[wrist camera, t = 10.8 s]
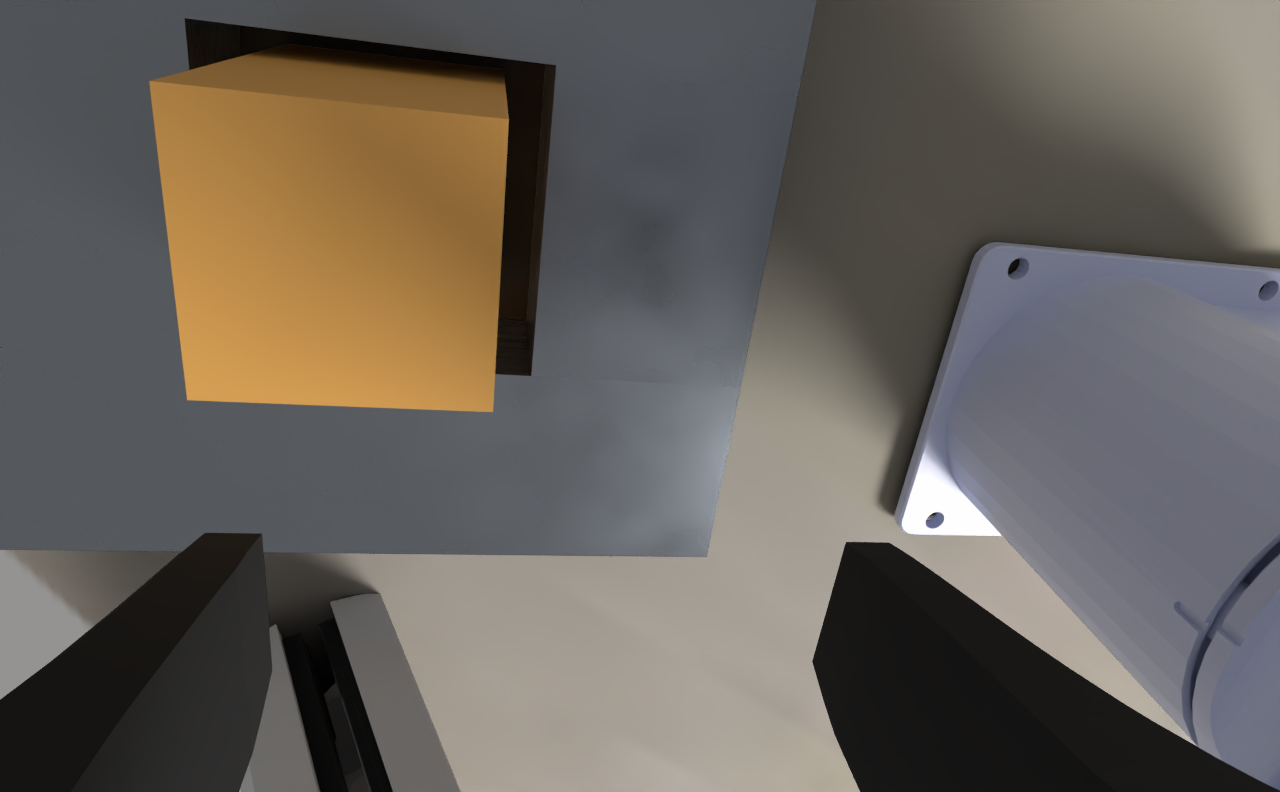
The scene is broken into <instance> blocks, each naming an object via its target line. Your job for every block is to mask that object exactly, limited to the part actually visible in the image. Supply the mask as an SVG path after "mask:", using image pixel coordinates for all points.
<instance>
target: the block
mask: <svg viewBox="0 0 1280 792" xmlns="http://www.w3.org/2000/svg"><path fill="white" fill-rule="evenodd" d="M149 84H150V92H151V101H152V109H153V118H154V126H155V134H156V143H157V151H158V160H159V168H160V176H161V185H162V193H163V201H164V210H165V218H166V227H167V235H168V243H169V252H170V260H171V268H172V277H173V285H174V294H175V302H176V310H177V319H178V327H179V336H180V344H181V352H182V361H183V369H184V377H185V386H186V394H187V400H195V401H220V402H246V403H271V404H297V405H322V406H348V407H373V408H399V409H424V410H450V411H475V412H493V405H494V386H495V368H496V349H497V331H498V312H499V294H500V275H501V257H502V239H503V220H504V202H505V183H506V165H507V146H508V128H509V115H508V106H507V97H506V88H505V78H504V69H497V68H488V67H480V66H472V65H463V64H455V63H446V62H438V61H429V60H421V59H412V58H404V57H395V56H387V55H378V54H370V53H361V52H353V51H345V50H336V49H328V48H319V47H311V46H302V45H294V44H284V45H281V46H277V47H273V48H270V49H266V50H262V51H258V52H255V53H251V54H247V55H244V56H240V57H236V58H232V59H229V60H225V61H221V62H218V63H214V64H210V65H207V66H203V67H199V68H195V69H192V70H188V71H184V72H181V73H177V74H173V75H170V76H166V77H162V78H158V79H155V80H151V81H149Z"/></svg>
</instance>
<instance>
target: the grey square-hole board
mask: <svg viewBox="0 0 1280 792" xmlns="http://www.w3.org/2000/svg"><path fill="white" fill-rule="evenodd" d="M816 3H817V0H0V550H83V551H179V552H182V551H183V550H185V549H186V548H187V547H188V546H190V545H191V544H192V543H193V542H194V541H196V540H197V539H198V538H199V537H200V536H202V535H203V534H204V533H260V534H262V539H263V552H274V553H369V554H464V555H560V556H655V557H707V553H708V548H709V543H710V538H711V532H712V527H713V522H714V517H715V512H716V507H717V502H718V497H719V492H720V487H721V482H722V477H723V472H724V467H725V462H726V457H727V452H728V447H729V442H730V437H731V432H732V426H733V421H734V416H735V411H736V406H737V401H738V396H739V391H740V386H741V381H742V376H743V371H744V366H745V361H746V356H747V351H748V346H749V341H750V336H751V331H752V326H753V321H754V315H755V310H756V305H757V300H758V295H759V290H760V285H761V280H762V275H763V270H764V265H765V260H766V255H767V250H768V245H769V240H770V235H771V230H772V225H773V220H774V215H775V209H776V204H777V199H778V194H779V189H780V184H781V179H782V174H783V169H784V164H785V159H786V154H787V149H788V144H789V139H790V134H791V129H792V124H793V119H794V114H795V109H796V103H797V98H798V93H799V88H800V83H801V78H802V73H803V68H804V63H805V58H806V53H807V48H808V43H809V38H810V33H811V28H812V23H813V18H814V13H815V8H816ZM240 25H242V26H250V27H258V28H266V29H274V30H282V31H290V32H298V33H305V34H313V35H321V36H329V37H337V38H345V39H353V40H361V41H369V42H377V43H384V44H392V45H400V46H408V47H416V48H424V49H432V50H440V51H448V52H456V53H464V54H471V55H479V56H487V57H495V58H503V59H511V60H519V61H527V62H535V63H543V64H545V74H544V88H543V101H542V114H541V127H540V141H539V154H538V167H537V181H536V194H535V207H534V220H533V234H532V247H531V260H530V273H529V287H528V300H527V313H526V321H525V320H510V319H498V331H497V349H496V368H495V386H494V405H493V412H475V411H450V410H424V409H399V408H373V407H348V406H322V405H297V404H271V403H246V402H220V401H195V400H187V394H186V386H185V377H184V369H183V361H182V352H181V344H180V336H179V327H178V319H177V310H176V302H175V294H174V285H173V277H172V268H171V260H170V252H169V243H168V235H167V227H166V218H165V210H164V201H163V193H162V185H161V176H160V168H159V160H158V151H157V143H156V134H155V126H154V118H153V109H152V101H151V92H150V84H149V81H151V80H155V79H158V78H162V77H166V76H170V75H173V74H177V73H181V72H184V71H188V70H192V69H195V68H199V67H203V66H207V65H210V64H214V63H218V62H221V61H225V60H229V59H232V58H236V57H240V56H242V52H241V37H240Z"/></svg>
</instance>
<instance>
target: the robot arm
mask: <svg viewBox="0 0 1280 792" xmlns="http://www.w3.org/2000/svg"><path fill="white" fill-rule="evenodd" d="M1018 258H1019V259H1020V261H1019V266H1018V268H1017V269H1016V270H1015V271H1014V272H1013V273H1011V274H1008V267H1009V266H1010V264H1011V262H1013V261H1014V260H1015V259H1018ZM1264 284H1265V286H1264V288H1263V289H1262V291H1261V292H1259V290H1260V289H1261V287H1262V286H1263V285H1264ZM935 512H937V513H936V515H935V516H934V517H933V518H932V519H930V520H926V519H927V518H928V516H929V515H931V514H932V513H935ZM895 521H896V523H897V524H898V526H899V527H900V528H901V530H902V531H904V532H905V533H907V534H912V535H968V536H1003V537H1004V538H1005V539H1006V540H1007V541H1008V543H1009V544H1010V545H1011V546H1012V547H1013V548H1014V549H1015V550H1016V551H1017V552H1018V553H1019V554H1020V555H1021V557H1022V558H1023V559H1024V560H1025V561H1026V562H1027V563H1028V564H1029V565H1030V566H1031V567H1032V568H1033V569H1034V571H1035V572H1036V573H1037V574H1038V575H1039V576H1040V577H1041V578H1042V579H1043V580H1044V581H1045V582H1046V584H1047V585H1048V586H1049V587H1050V588H1051V589H1052V590H1053V591H1054V592H1055V593H1056V594H1057V595H1058V596H1059V598H1060V599H1061V600H1062V601H1063V602H1064V603H1065V604H1066V605H1067V606H1068V607H1069V608H1070V609H1071V610H1072V612H1073V613H1074V614H1075V615H1076V616H1077V617H1078V618H1079V619H1080V620H1081V621H1082V622H1083V623H1084V624H1085V626H1086V627H1087V628H1088V629H1089V630H1090V631H1091V632H1092V633H1093V634H1094V635H1095V636H1096V637H1097V638H1098V640H1099V641H1100V642H1101V643H1102V644H1103V645H1104V646H1105V647H1106V648H1107V649H1108V650H1109V651H1110V652H1111V654H1112V655H1113V656H1114V657H1115V658H1116V659H1117V660H1118V661H1119V662H1120V663H1121V664H1122V665H1123V666H1124V668H1125V669H1126V670H1127V671H1128V672H1129V673H1130V674H1131V675H1132V676H1133V677H1134V678H1135V679H1136V680H1137V682H1138V683H1139V684H1140V685H1141V686H1142V687H1143V688H1144V689H1145V690H1146V691H1147V692H1148V693H1149V695H1150V696H1151V697H1152V698H1153V699H1154V700H1155V701H1156V702H1157V703H1158V704H1159V705H1160V706H1161V707H1162V709H1163V710H1164V711H1165V712H1166V713H1167V714H1168V715H1169V716H1170V717H1171V718H1172V719H1173V720H1174V721H1175V723H1176V724H1177V725H1178V726H1179V727H1180V728H1181V729H1182V730H1183V731H1184V732H1185V733H1186V734H1187V735H1188V737H1189V738H1190V739H1191V740H1192V741H1193V742H1194V743H1195V744H1196V745H1197V746H1198V747H1197V746H1195V745H1193V744H1192V743H1190V742H1188V741H1186V740H1185V739H1183V738H1181V737H1179V736H1178V735H1176V734H1174V733H1172V732H1171V731H1169V730H1167V729H1165V728H1164V727H1162V726H1160V725H1158V724H1157V723H1155V722H1153V721H1151V720H1150V719H1148V718H1146V717H1145V716H1143V715H1142V714H1140V713H1138V712H1137V711H1135V710H1133V709H1132V708H1130V707H1128V706H1127V705H1125V704H1124V703H1122V702H1120V701H1119V700H1117V699H1116V698H1114V697H1113V696H1111V695H1110V694H1108V693H1106V692H1105V691H1103V690H1102V689H1100V688H1099V687H1097V686H1096V685H1094V684H1093V683H1091V682H1090V681H1088V680H1086V679H1085V678H1083V677H1082V676H1080V675H1079V674H1077V673H1076V672H1074V671H1073V670H1071V669H1069V668H1068V667H1067V666H1065V665H1064V664H1062V663H1061V662H1059V661H1058V660H1056V659H1055V658H1053V657H1052V656H1050V655H1049V654H1047V653H1046V652H1045V651H1043V650H1042V649H1040V648H1039V647H1037V646H1036V645H1034V644H1033V643H1032V642H1030V641H1029V640H1027V639H1026V638H1024V637H1023V636H1022V635H1020V634H1019V633H1017V632H1016V631H1015V630H1013V629H1012V628H1010V627H1009V626H1008V625H1006V624H1005V623H1003V622H1002V621H1000V620H999V619H998V618H996V617H995V616H994V615H992V614H991V613H989V612H988V611H987V610H985V609H984V608H982V607H981V606H980V605H978V604H977V603H976V602H974V601H973V600H971V599H970V598H969V597H967V596H966V595H965V594H963V593H962V592H960V591H959V590H958V589H956V588H955V587H954V586H952V585H951V584H949V583H948V582H947V581H945V580H944V579H942V578H941V577H940V576H938V575H937V574H935V573H934V572H933V571H931V570H930V569H928V568H927V567H925V566H924V565H923V564H921V563H920V562H918V561H917V560H915V559H914V558H912V557H911V556H909V555H908V554H906V553H905V552H903V551H902V550H900V549H898V548H897V547H895V546H893V545H892V544H890V543H874V542H846V544H845V548H844V551H843V555H842V558H841V562H840V565H839V569H838V573H837V576H836V580H835V583H834V587H833V590H832V594H831V597H830V601H829V604H828V608H827V612H826V615H825V619H824V622H823V626H822V629H821V633H820V636H819V640H818V644H817V647H816V651H815V654H814V658H813V661H812V662H813V665H814V669H815V672H816V676H817V679H818V682H819V686H820V689H821V693H822V696H823V700H824V703H825V706H826V709H827V712H828V715H829V718H830V722H831V725H832V728H833V731H834V734H835V736H836V738H837V741H838V743H839V745H840V748H841V750H842V752H843V754H844V757H845V759H846V761H847V763H848V766H849V768H850V770H851V772H852V774H853V777H854V779H855V781H856V783H857V786H858V788H859V790H860V792H1280V269H1278V268H1268V267H1257V266H1246V265H1236V264H1225V263H1215V262H1204V261H1193V260H1183V259H1172V258H1162V257H1151V256H1141V255H1130V254H1119V253H1109V252H1098V251H1088V250H1077V249H1067V248H1056V247H1045V246H1035V245H1024V244H1014V243H1003V242H993V243H989V244H987V245H985V246H983V247H982V248H981V249H980V250H979V251H978V252H977V253H976V254H975V256H974V258H973V260H972V263H971V266H970V270H969V273H968V276H967V279H966V283H965V286H964V289H963V292H962V296H961V299H960V302H959V305H958V309H957V312H956V315H955V318H954V322H953V325H952V328H951V332H950V335H949V338H948V341H947V345H946V348H945V351H944V354H943V358H942V361H941V364H940V367H939V371H938V374H937V377H936V381H935V384H934V387H933V390H932V394H931V397H930V400H929V403H928V407H927V410H926V413H925V416H924V420H923V423H922V426H921V429H920V433H919V436H918V439H917V443H916V446H915V449H914V452H913V456H912V459H911V462H910V465H909V469H908V472H907V475H906V478H905V482H904V485H903V488H902V491H901V495H900V498H899V501H898V505H897V508H896V511H895ZM271 674H272V657H271V644H270V631H269V618H268V605H267V592H266V578H265V565H264V552H263V539H262V534H260V533H204V534H203V535H202V536H200V537H199V538H198V539H197V540H196V541H194V542H193V543H192V544H191V545H190V546H188V547H187V548H186V549H185V550H183V551H182V552H181V553H180V554H179V555H177V556H176V557H175V558H174V559H173V560H172V561H170V562H169V563H168V564H167V565H166V566H165V567H163V568H162V569H161V570H160V571H159V572H158V573H156V574H155V575H154V576H153V577H152V578H151V579H149V580H148V581H147V582H146V583H145V584H144V585H142V586H141V587H140V588H139V589H138V590H137V591H135V592H134V593H133V594H132V595H131V596H130V597H128V598H127V599H126V600H125V601H124V602H123V603H121V604H120V605H119V606H118V607H117V608H116V609H114V610H113V611H112V612H111V613H110V614H108V615H107V616H106V617H105V618H103V619H102V620H101V621H100V622H99V623H97V624H96V625H95V626H94V627H93V628H91V629H90V630H89V631H88V632H86V633H85V634H84V635H83V636H82V637H80V638H79V639H78V640H77V641H75V642H74V643H73V644H72V645H71V646H69V647H68V648H67V649H66V650H65V651H63V652H62V653H61V654H60V655H58V656H57V657H56V658H55V659H53V660H52V661H51V662H50V663H48V664H47V665H46V666H44V667H43V668H42V669H40V670H39V671H38V672H37V673H35V674H34V675H33V676H31V677H30V678H28V679H27V680H26V681H25V682H23V683H22V684H21V685H19V686H18V687H17V688H16V689H14V690H13V691H11V692H10V693H9V694H7V695H6V696H5V697H3V698H2V699H1V700H0V792H239V790H240V787H241V784H242V782H243V779H244V776H245V773H246V771H247V768H248V765H249V762H250V759H251V757H252V754H253V750H254V746H255V742H256V738H257V734H258V730H259V726H260V722H261V718H262V713H263V709H264V705H265V700H266V696H267V692H268V687H269V683H270V678H271Z"/></svg>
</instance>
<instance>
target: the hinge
mask: <svg viewBox="0 0 1280 792" xmlns="http://www.w3.org/2000/svg"><path fill="white" fill-rule="evenodd" d="M330 604H331V607H332V610H333V613H334V616H335V617H334V618H332V619H330V620H327V621H325V622H323V623H321V624H319V628H320V631H321V635H322V638H323V641H324V644H325V648H326V651H327V654H328V657H329V661H330V664H331V667H332V670H333V674H334V677H335V680H336V682H335V683H334V684H333V685H332V687H331V688H330V689H329V690H328V691H327V692H326V693H325V694H323V691H322V687H321V684H320V680H319V678H318V676H317V673H316V671H315V668H314V666H313V664H312V661H311V659H310V656H309V654H308V652H307V649H306V647H305V644H304V642H303V640H302V637H301V635H300V633H297V634H294V635H292V636H289V637H287V638H284V639H282V636H281V634H280V632H279V630H278V627H277V625H276V624H275V625H273V626H272V627H270V628H269V631H270V644H271V657H272V674H271V678H270V683H269V687H268V692H267V696H266V700H265V705H264V709H263V713H262V718H261V722H260V726H259V730H258V734H257V738H256V742H255V746H254V750H253V754H252V757H251V759H250V762H249V765H248V768H247V771H246V773H245V776H244V779H243V782H242V784H241V787H240V789H241V791H242V792H461V791H460V789H459V786H458V784H457V782H456V779H455V777H454V774H453V772H452V769H451V767H450V764H449V762H448V759H447V757H446V754H445V752H444V750H443V747H442V745H441V742H440V740H439V737H438V735H437V732H436V730H435V727H434V725H433V722H432V720H431V718H430V715H429V713H428V710H427V708H426V705H425V703H424V700H423V698H422V695H421V693H420V691H419V688H418V686H417V683H416V681H415V678H414V676H413V673H412V671H411V668H410V666H409V663H408V661H407V659H406V656H405V654H404V651H403V649H402V646H401V644H400V641H399V639H398V636H397V634H396V631H395V629H394V627H393V624H392V622H391V619H390V617H389V614H388V612H387V609H386V607H385V604H384V602H383V599H382V597H381V595H380V594H361V595H357V596H352V597H348V598H343V599H339V600H335V601H331V602H330Z"/></svg>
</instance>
